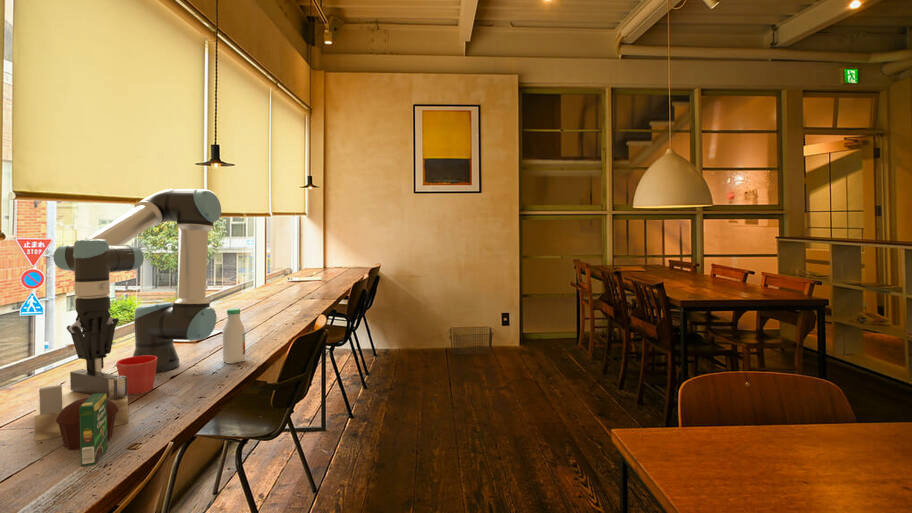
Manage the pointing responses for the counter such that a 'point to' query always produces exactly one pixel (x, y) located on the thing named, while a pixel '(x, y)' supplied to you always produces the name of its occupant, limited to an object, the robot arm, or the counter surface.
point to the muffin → (71, 422)
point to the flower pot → (138, 373)
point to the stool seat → (47, 422)
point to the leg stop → (50, 399)
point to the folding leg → (98, 383)
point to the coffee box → (93, 429)
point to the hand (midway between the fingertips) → (95, 382)
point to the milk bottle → (233, 337)
